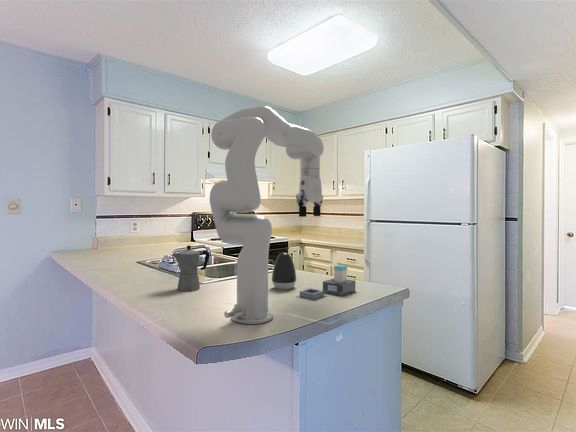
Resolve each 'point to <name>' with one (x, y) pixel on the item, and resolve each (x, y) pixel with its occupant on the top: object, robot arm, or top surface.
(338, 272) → the blue capped white bottle
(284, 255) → the dark egg-shaped speaker
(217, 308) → the top surface
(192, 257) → the coffeepot
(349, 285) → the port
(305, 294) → the grey square open box
